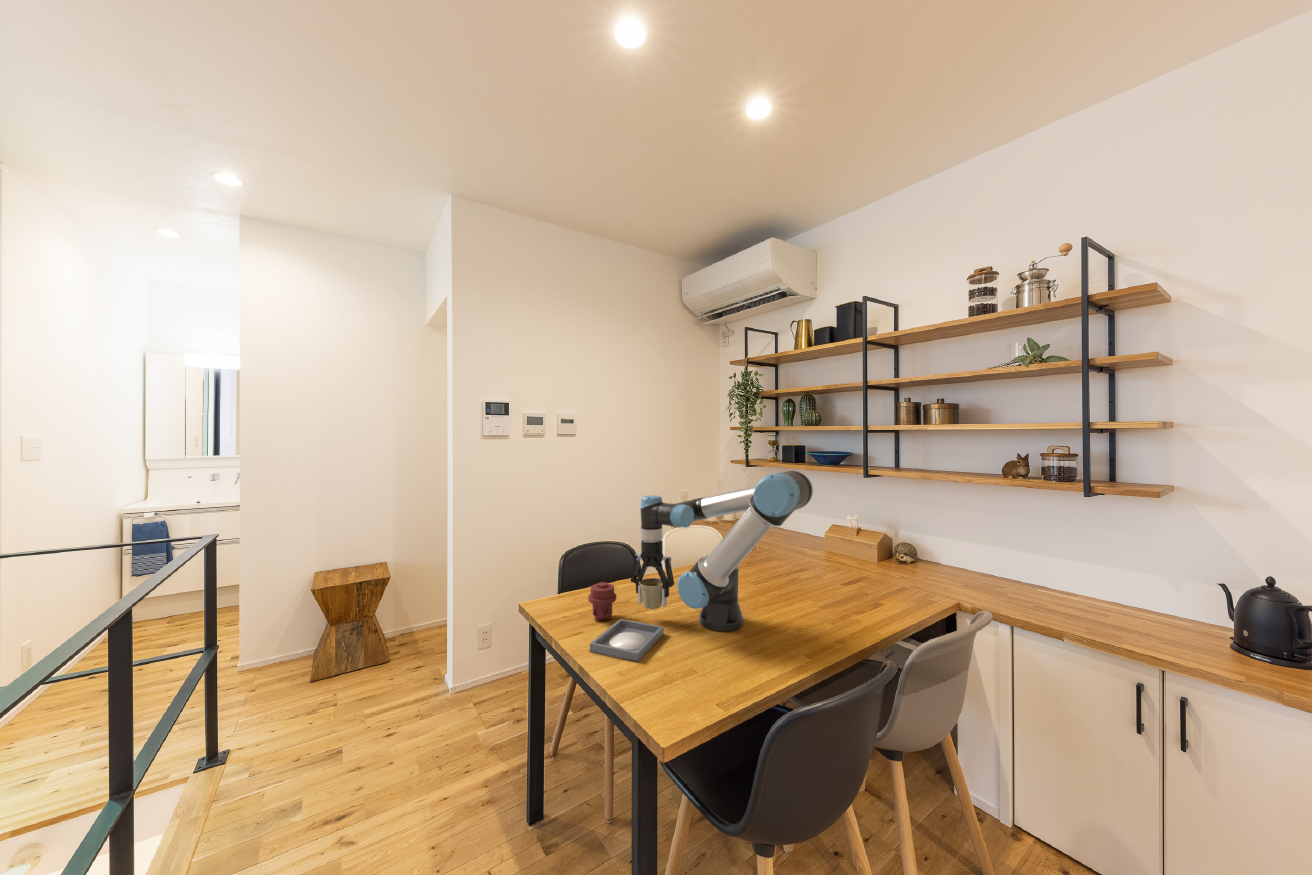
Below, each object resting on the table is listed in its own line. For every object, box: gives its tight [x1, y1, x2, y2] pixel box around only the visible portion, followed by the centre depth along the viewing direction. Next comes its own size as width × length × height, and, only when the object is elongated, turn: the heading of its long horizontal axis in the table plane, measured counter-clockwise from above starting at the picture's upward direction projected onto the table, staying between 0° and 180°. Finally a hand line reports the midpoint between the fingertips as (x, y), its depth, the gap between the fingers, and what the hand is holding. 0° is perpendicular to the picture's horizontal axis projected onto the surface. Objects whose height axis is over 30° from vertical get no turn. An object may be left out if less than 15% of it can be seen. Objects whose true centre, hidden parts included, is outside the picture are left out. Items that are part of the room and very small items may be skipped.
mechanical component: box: [588, 581, 617, 622], centre depth 165 cm, size 12×10×10 cm
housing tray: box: [589, 618, 665, 663], centre depth 146 cm, size 16×20×2 cm
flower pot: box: [639, 577, 664, 610], centre depth 163 cm, size 9×9×9 cm
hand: (652, 604), depth 163 cm, fingers closed on flower pot, 8 cm apart
